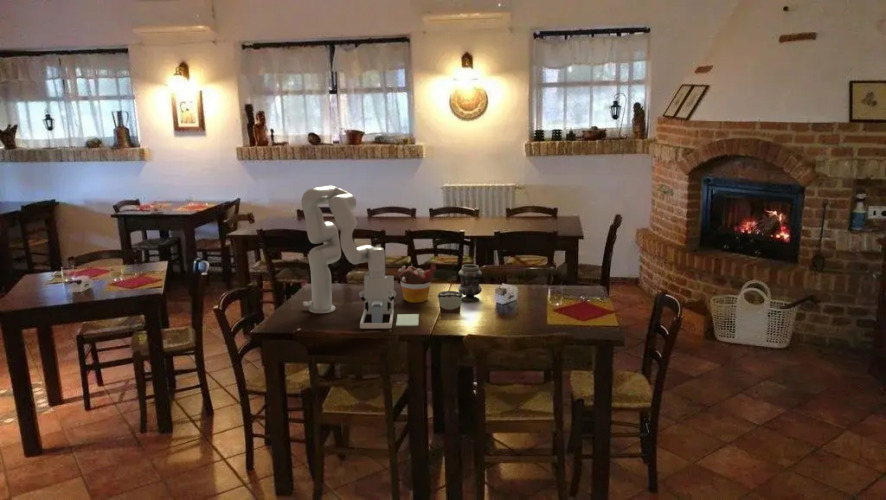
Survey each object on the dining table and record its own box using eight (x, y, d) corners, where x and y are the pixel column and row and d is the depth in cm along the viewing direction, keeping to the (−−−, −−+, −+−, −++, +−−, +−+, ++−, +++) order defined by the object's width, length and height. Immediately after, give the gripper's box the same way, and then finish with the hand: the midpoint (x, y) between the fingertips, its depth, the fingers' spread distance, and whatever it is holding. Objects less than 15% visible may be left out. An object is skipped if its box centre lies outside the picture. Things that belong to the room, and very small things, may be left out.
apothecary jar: (482, 297, 355) (482, 263, 352) (481, 303, 344) (481, 269, 340) (458, 296, 357) (459, 262, 353) (457, 302, 345) (457, 268, 341)
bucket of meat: (395, 303, 342) (394, 265, 338) (400, 295, 358) (400, 258, 354) (434, 305, 340) (434, 266, 336) (438, 296, 356) (438, 259, 352)
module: (371, 324, 311) (371, 306, 310) (373, 317, 320) (373, 300, 318) (381, 323, 311) (381, 306, 310) (382, 317, 320) (382, 300, 318)
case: (360, 328, 305) (359, 289, 301) (365, 311, 330) (364, 275, 326) (391, 328, 305) (390, 289, 301) (394, 311, 330) (393, 275, 327)
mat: (396, 326, 308) (396, 324, 308) (397, 315, 324) (397, 314, 324) (418, 326, 308) (418, 324, 308) (418, 315, 324) (418, 314, 324)
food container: (462, 310, 332) (462, 290, 330) (462, 314, 326) (463, 294, 324) (436, 310, 332) (436, 290, 330) (437, 314, 326) (437, 294, 324)
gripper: (357, 276, 307) (358, 313, 311) (395, 275, 308) (396, 312, 311) (358, 272, 314) (360, 308, 318) (396, 272, 315) (397, 307, 318)
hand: (378, 310), depth 314 cm, fingers open, 9 cm apart
